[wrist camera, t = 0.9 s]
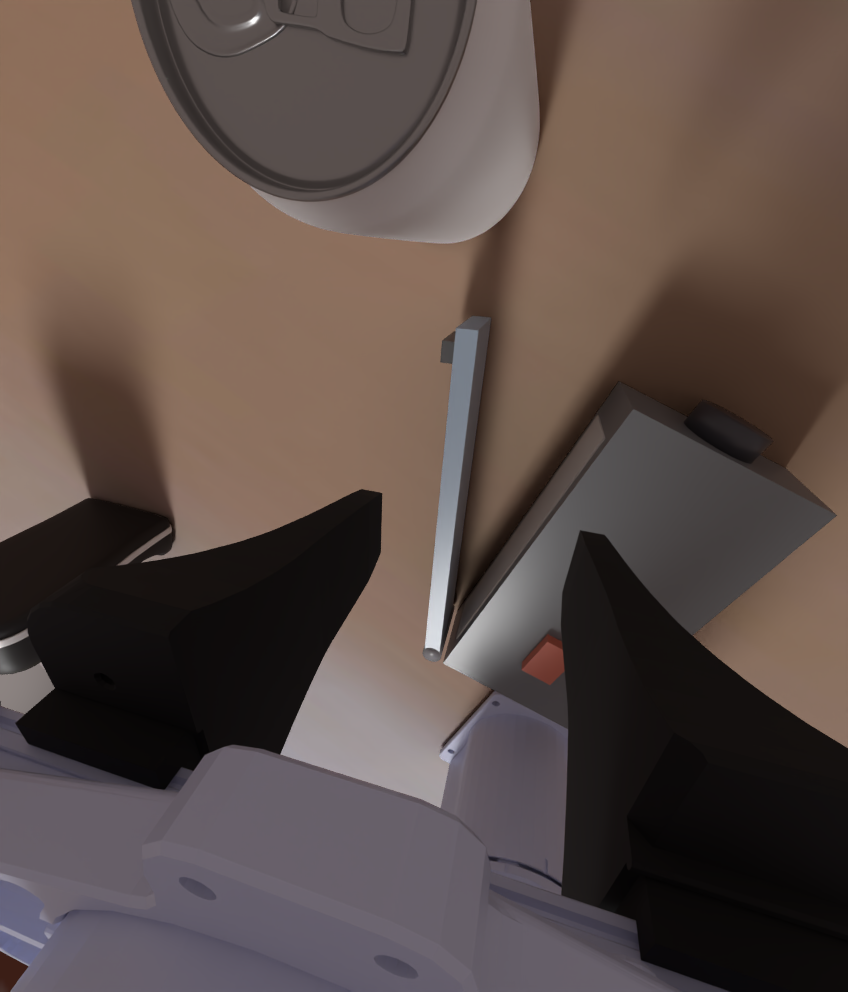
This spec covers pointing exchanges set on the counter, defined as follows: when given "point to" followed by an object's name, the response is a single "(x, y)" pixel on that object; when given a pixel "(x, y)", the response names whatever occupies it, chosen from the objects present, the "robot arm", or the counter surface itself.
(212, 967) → the robot arm
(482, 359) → the grey bar handle
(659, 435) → the grey rectangular box
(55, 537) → the battery charger
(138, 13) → the can
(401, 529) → the counter surface
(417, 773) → the counter surface
